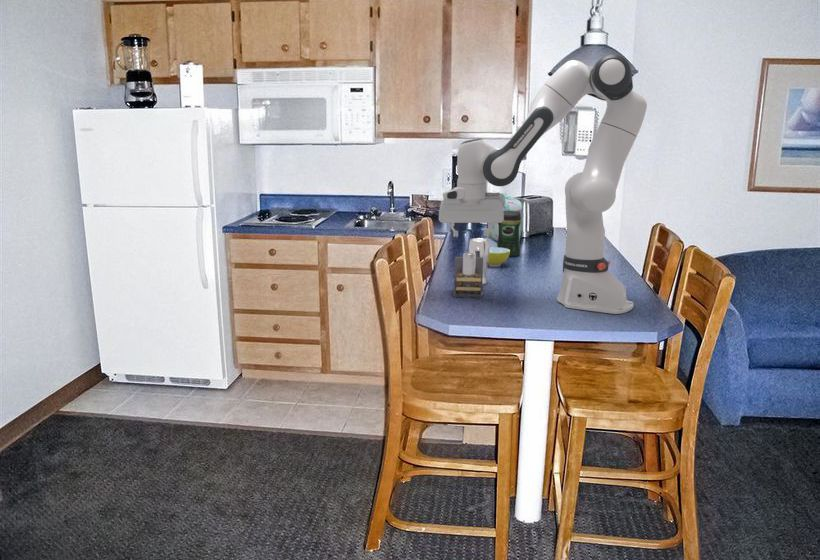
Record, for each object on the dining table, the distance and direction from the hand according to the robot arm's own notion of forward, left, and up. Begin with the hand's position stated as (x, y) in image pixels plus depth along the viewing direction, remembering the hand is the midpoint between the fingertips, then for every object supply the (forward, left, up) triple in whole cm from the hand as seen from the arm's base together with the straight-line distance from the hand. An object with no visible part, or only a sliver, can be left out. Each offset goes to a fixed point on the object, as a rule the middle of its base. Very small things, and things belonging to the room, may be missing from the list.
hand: (470, 236), depth 203 cm
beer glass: (+5, -14, -19) cm, 24 cm away
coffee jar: (+21, -63, -19) cm, 69 cm away
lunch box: (+41, -93, -19) cm, 103 cm away
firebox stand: (0, 0, -18) cm, 18 cm away
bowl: (+15, -42, -19) cm, 48 cm away
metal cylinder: (0, 0, -17) cm, 17 cm away
